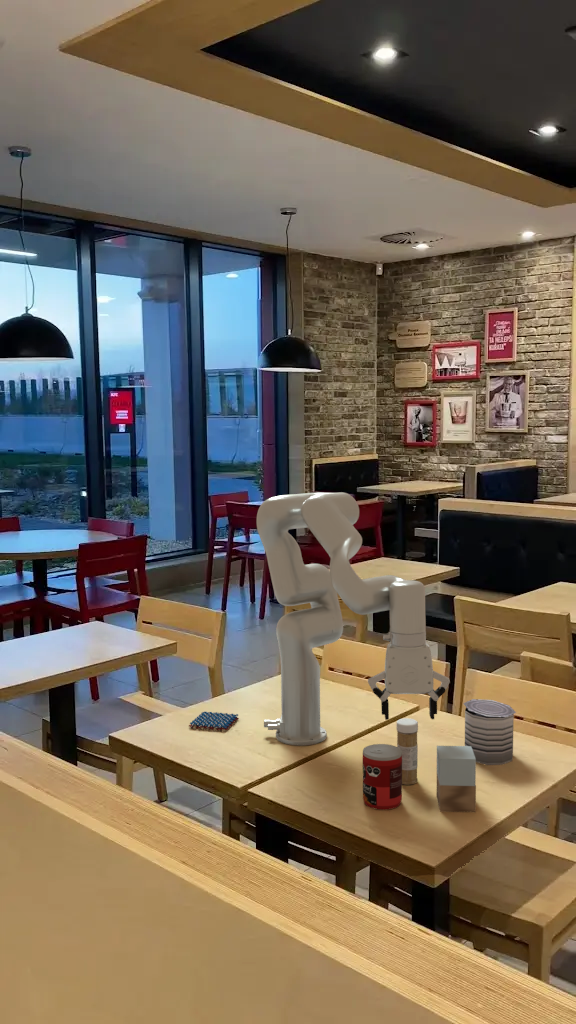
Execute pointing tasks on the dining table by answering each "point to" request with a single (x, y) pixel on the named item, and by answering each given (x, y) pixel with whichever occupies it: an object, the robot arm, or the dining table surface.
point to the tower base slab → (456, 798)
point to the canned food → (382, 776)
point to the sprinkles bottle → (408, 749)
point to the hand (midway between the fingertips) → (409, 717)
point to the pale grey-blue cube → (456, 765)
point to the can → (489, 731)
